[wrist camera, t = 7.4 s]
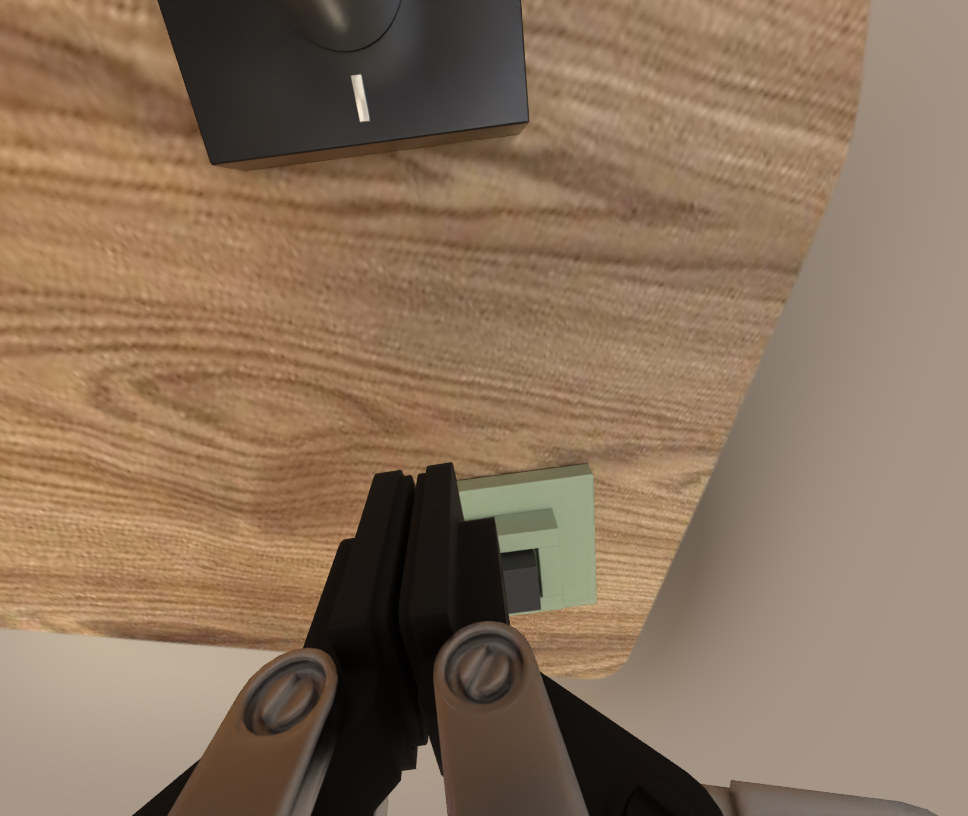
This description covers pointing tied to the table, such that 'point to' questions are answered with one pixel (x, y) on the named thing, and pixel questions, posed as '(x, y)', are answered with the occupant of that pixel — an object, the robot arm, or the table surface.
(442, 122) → the plate
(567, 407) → the table surface
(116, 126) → the table surface
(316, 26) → the volume knob
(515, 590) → the key
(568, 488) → the square socket base
